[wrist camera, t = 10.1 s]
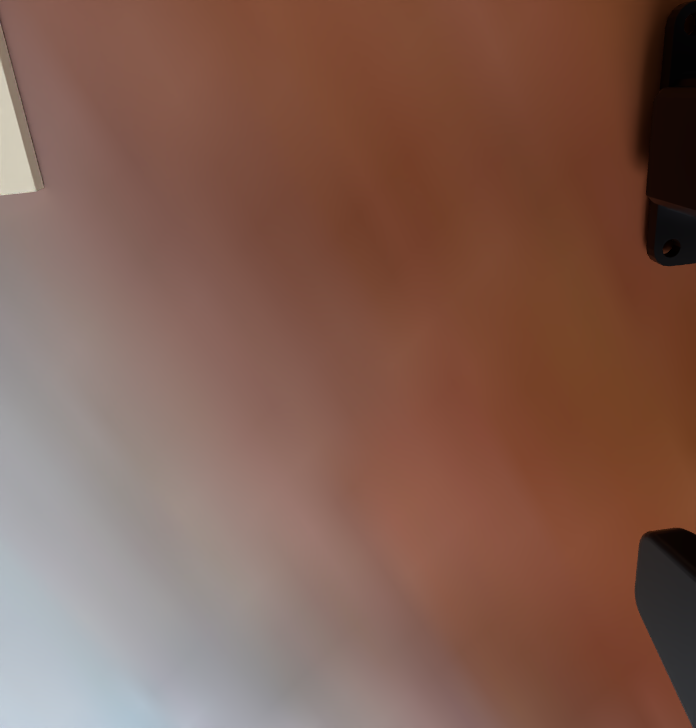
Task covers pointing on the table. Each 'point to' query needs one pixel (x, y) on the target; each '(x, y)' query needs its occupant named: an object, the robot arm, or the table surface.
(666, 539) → the robot arm
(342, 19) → the table surface
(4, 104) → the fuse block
